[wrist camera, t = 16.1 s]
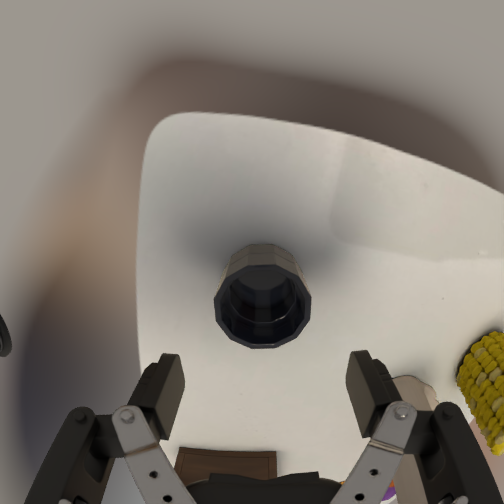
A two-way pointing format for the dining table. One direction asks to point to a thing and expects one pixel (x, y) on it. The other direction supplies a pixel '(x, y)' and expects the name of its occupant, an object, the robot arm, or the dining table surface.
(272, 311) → the bowl
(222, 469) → the chest
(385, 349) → the dining table surface
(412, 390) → the candle
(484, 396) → the food
